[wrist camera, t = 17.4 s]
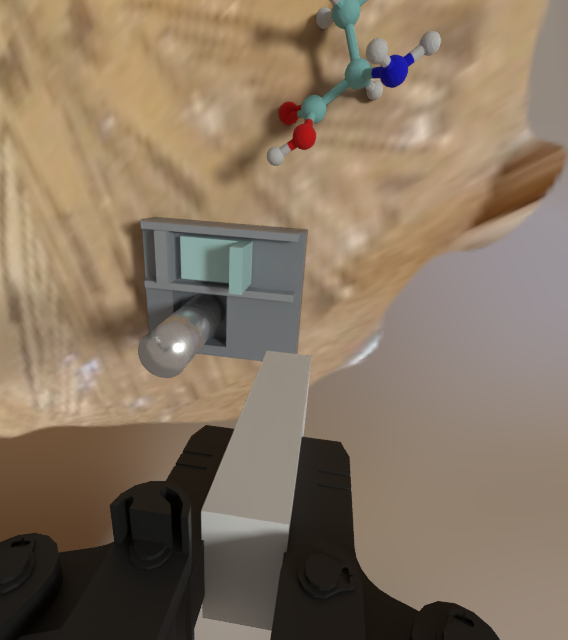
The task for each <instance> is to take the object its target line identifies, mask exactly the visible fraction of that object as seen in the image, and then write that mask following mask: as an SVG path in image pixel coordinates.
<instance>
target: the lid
mask: <svg viewBox="0 0 568 640" xmlns="http://www.w3.org/2000/svg"><path fill="white" fill-rule="evenodd" d="M180 247H181V278H182V279H192V280H202V281H212V282H223V283H229V294H238V295H242V294H243V293H244V291H245V290H246V289H247V288H248V287H249V285H250V284H251V275H252V248H253V241H244V240H232V239H221V238H209V237H198V236H186V235H182V236H180Z"/></svg>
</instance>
